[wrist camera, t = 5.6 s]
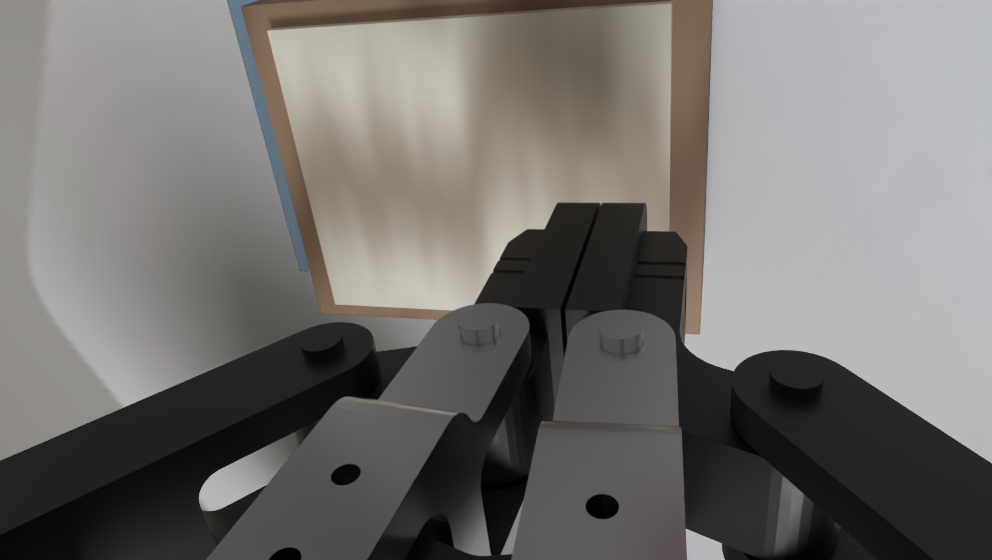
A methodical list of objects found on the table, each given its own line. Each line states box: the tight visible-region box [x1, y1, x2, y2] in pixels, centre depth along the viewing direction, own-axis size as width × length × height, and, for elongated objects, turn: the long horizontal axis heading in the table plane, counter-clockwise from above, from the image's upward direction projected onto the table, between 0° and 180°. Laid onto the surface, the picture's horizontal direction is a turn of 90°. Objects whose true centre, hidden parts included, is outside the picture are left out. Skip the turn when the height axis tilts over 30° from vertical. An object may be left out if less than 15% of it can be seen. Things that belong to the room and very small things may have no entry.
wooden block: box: [241, 0, 713, 334], centre depth 18 cm, size 8×4×10 cm
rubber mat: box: [227, 0, 310, 271], centre depth 21 cm, size 10×12×1 cm
